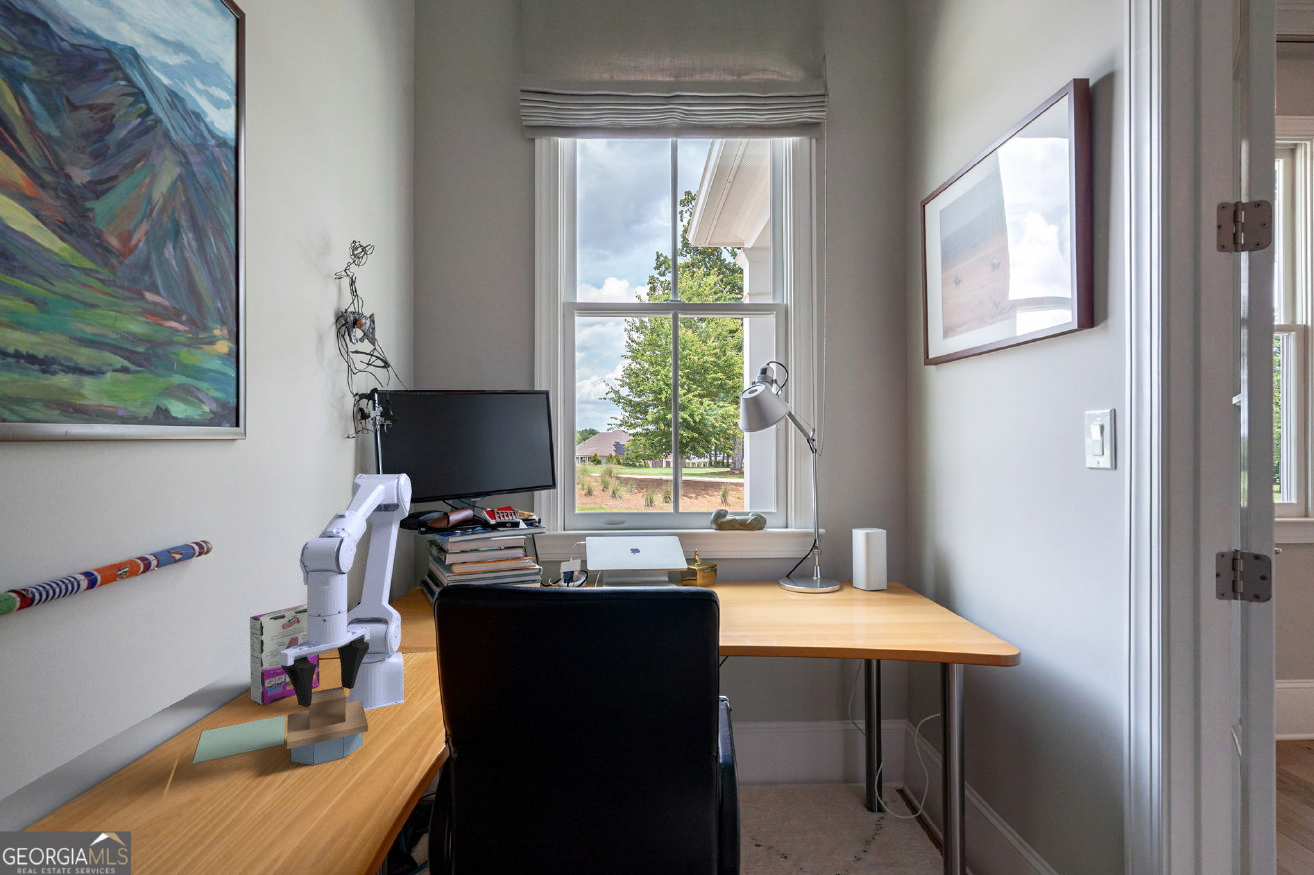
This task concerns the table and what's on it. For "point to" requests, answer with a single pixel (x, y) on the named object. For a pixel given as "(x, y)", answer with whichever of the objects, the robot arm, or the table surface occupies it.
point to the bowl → (326, 750)
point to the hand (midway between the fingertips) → (327, 696)
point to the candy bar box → (276, 652)
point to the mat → (240, 739)
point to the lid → (326, 719)
